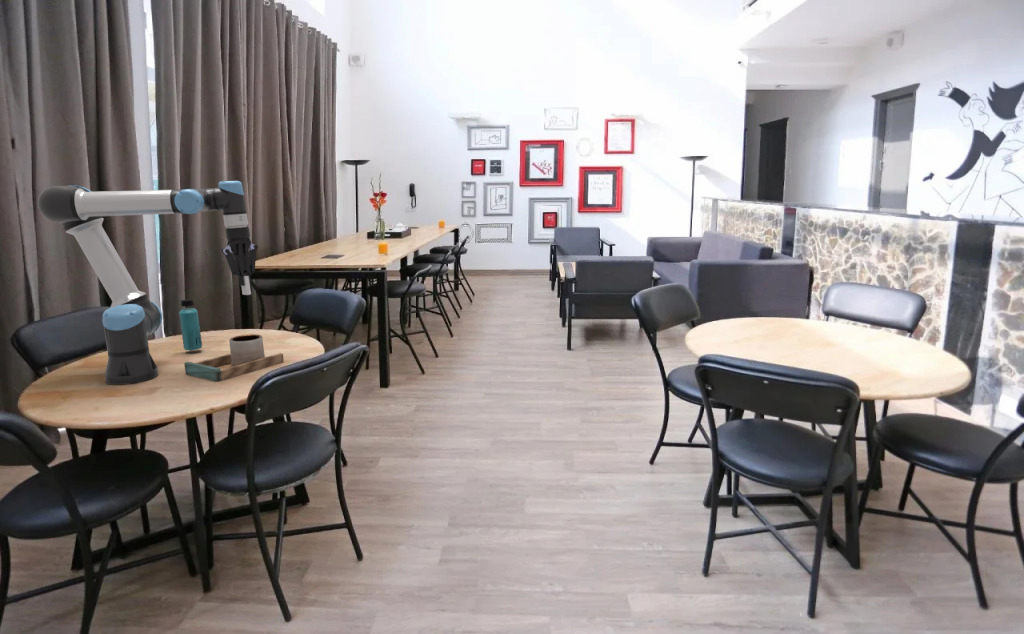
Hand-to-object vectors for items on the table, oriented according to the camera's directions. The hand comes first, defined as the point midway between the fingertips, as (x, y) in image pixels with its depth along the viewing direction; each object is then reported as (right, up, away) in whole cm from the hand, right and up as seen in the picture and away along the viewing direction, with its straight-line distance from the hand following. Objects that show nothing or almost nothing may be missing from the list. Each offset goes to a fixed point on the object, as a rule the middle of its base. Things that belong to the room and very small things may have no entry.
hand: (246, 294), depth 230 cm
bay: (-1, -25, -6) cm, 26 cm away
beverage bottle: (-27, -21, +17) cm, 38 cm away
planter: (+1, -25, -1) cm, 25 cm away
